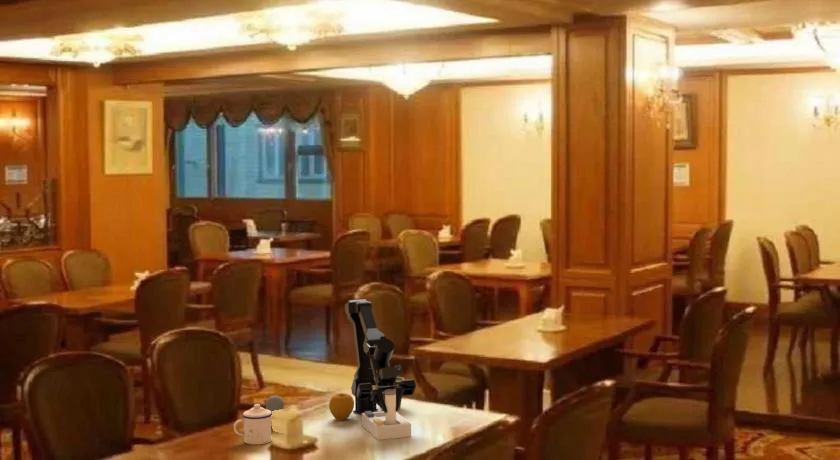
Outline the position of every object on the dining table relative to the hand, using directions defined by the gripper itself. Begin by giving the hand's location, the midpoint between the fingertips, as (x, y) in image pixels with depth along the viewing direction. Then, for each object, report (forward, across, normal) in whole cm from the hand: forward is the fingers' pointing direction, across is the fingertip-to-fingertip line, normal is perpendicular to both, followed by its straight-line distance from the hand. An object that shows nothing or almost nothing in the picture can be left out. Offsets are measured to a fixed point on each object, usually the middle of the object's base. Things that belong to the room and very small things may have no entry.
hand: (391, 412), depth 349 cm
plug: (+4, 0, +6) cm, 7 cm away
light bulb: (-13, -32, +24) cm, 43 cm away
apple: (-13, -10, +24) cm, 29 cm away
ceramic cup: (-19, +10, +30) cm, 37 cm away
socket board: (+1, 0, +10) cm, 10 cm away
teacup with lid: (-1, -42, +12) cm, 44 cm away
